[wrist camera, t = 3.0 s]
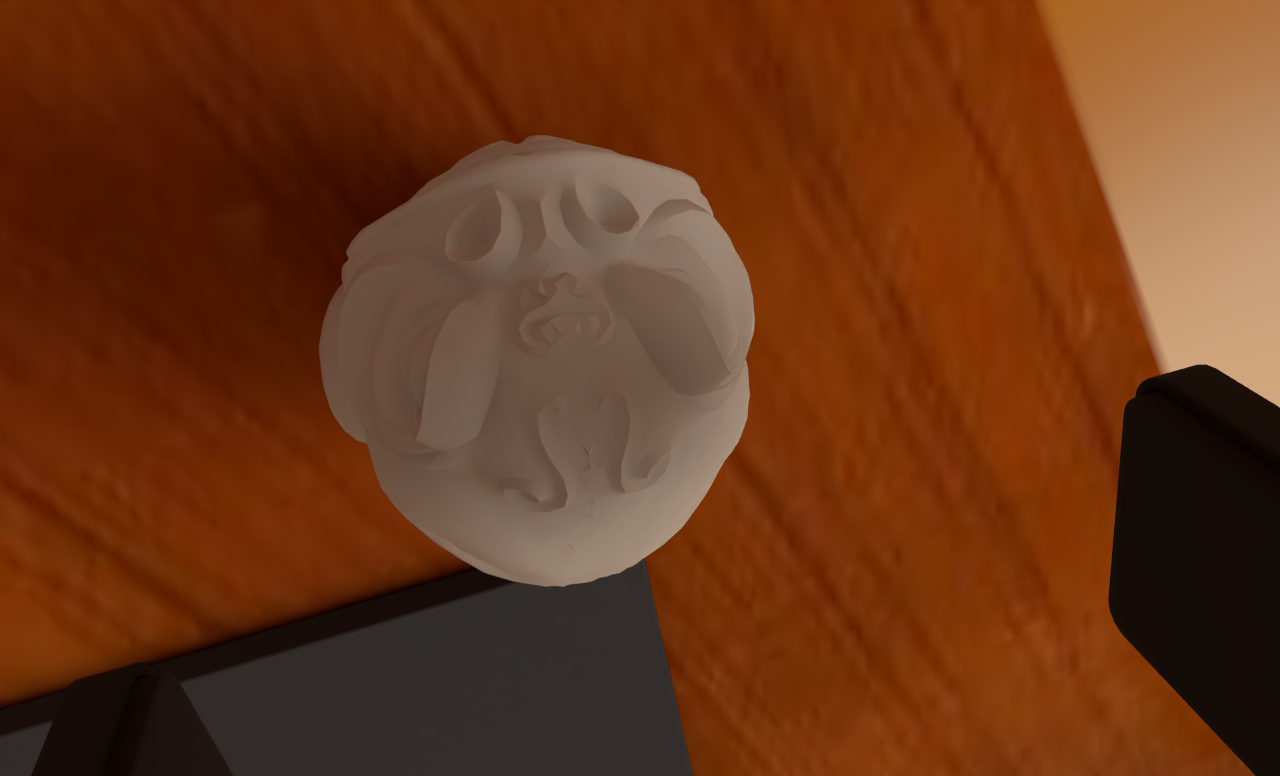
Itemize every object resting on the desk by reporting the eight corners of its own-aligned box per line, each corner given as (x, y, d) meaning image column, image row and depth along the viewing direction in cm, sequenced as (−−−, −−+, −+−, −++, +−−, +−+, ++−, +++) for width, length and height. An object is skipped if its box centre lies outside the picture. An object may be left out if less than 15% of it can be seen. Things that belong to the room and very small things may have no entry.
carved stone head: (667, 30, 16) (852, 140, 10) (698, 404, 19) (847, 655, 13) (276, 89, 15) (214, 251, 9) (384, 472, 18) (392, 775, 12)
